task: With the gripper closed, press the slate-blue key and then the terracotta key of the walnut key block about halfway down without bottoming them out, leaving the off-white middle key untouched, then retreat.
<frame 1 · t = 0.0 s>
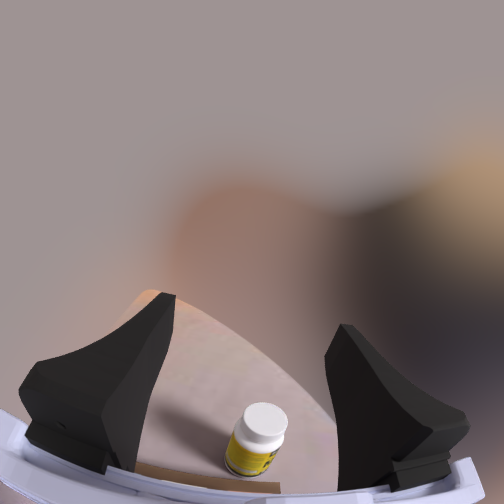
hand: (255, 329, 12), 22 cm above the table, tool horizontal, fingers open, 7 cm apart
supplement bottle: (245, 462, 26), on the table
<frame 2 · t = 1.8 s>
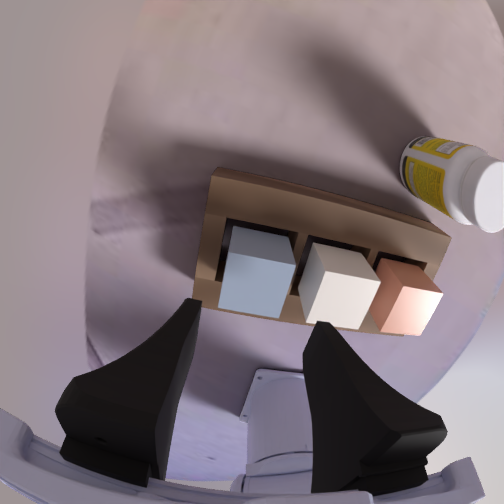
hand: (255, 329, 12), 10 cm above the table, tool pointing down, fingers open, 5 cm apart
supplement bottle: (423, 166, 19), on the table
blue key: (255, 270, 17), point 5 cm above the table, slide at 0.0 cm
white key: (336, 285, 18), point 5 cm above the table, slide at 0.0 cm
key block: (321, 252, 22), on the table
red key: (401, 296, 18), point 5 cm above the table, slide at 0.0 cm
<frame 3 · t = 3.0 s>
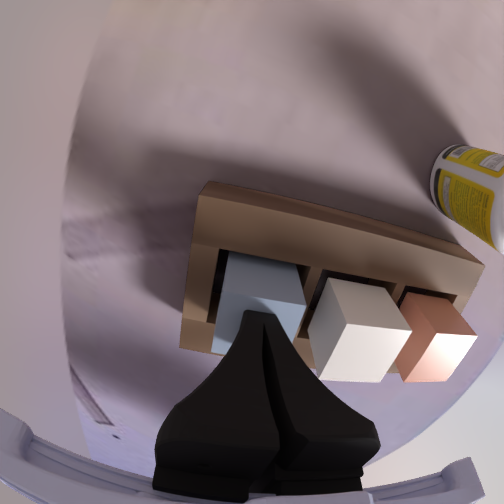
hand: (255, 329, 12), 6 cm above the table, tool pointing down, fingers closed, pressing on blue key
supplement bottle: (454, 179, 15), on the table
blue key: (255, 306, 14), point 4 cm above the table, slide at 0.8 cm, touching gripper
white key: (355, 331, 14), point 5 cm above the table, slide at 0.0 cm
key block: (334, 283, 18), on the table
red key: (428, 338, 14), point 5 cm above the table, slide at 0.0 cm
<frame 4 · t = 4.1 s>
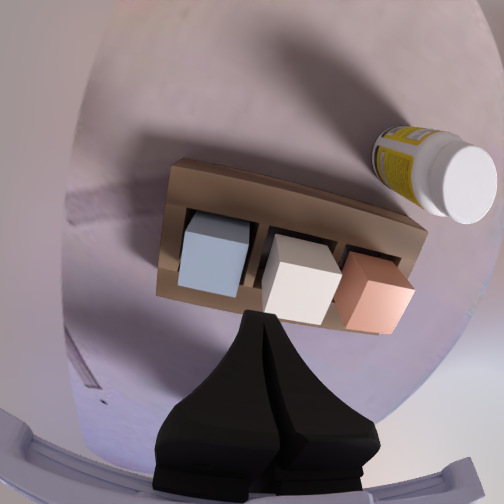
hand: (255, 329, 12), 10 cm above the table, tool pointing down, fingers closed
supplement bottle: (398, 157, 19), on the table
blue key: (215, 251, 18), point 3 cm above the table, slide at 1.2 cm
white key: (297, 278, 17), point 5 cm above the table, slide at 0.0 cm
key block: (289, 245, 22), on the table
red key: (371, 292, 18), point 5 cm above the table, slide at 0.0 cm
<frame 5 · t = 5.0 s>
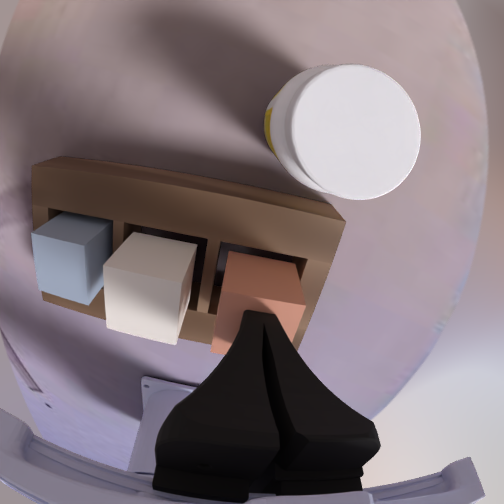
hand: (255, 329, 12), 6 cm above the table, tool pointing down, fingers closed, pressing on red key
supplement bottle: (306, 125, 15), on the table
blue key: (75, 253, 14), point 3 cm above the table, slide at 1.2 cm
white key: (151, 285, 14), point 5 cm above the table, slide at 0.0 cm
key block: (174, 245, 18), on the table
red key: (255, 306, 14), point 5 cm above the table, slide at 0.0 cm, touching gripper
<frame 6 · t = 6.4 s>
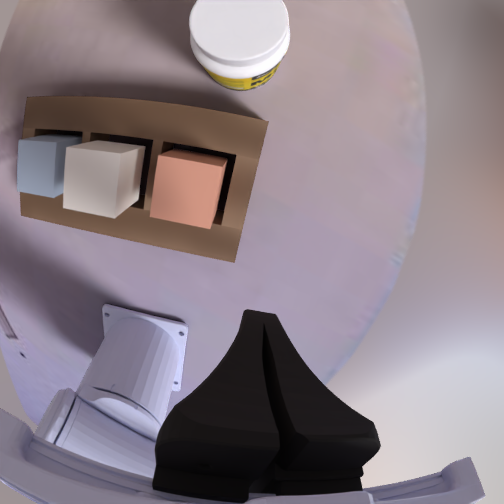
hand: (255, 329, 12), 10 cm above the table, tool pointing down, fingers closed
supplement bottle: (242, 59, 17), on the table
blue key: (50, 162, 16), point 3 cm above the table, slide at 1.2 cm
white key: (104, 175, 15), point 5 cm above the table, slide at 0.0 cm
key block: (133, 162, 19), on the table
red key: (190, 185, 17), point 3 cm above the table, slide at 1.2 cm
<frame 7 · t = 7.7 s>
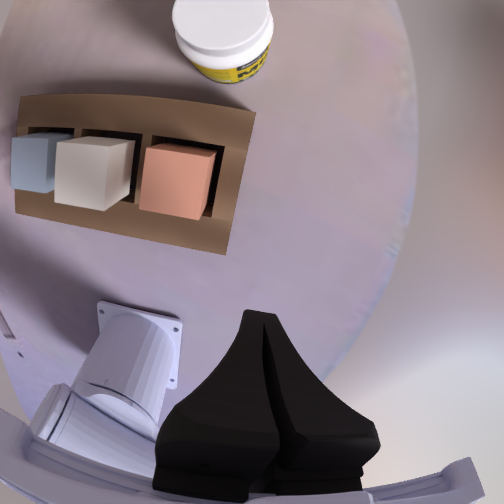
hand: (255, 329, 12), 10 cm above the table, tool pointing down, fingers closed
supplement bottle: (231, 53, 17), on the table
blue key: (43, 159, 16), point 3 cm above the table, slide at 1.2 cm
white key: (94, 169, 15), point 5 cm above the table, slide at 0.0 cm
key block: (124, 158, 19), on the table
red key: (180, 177, 17), point 3 cm above the table, slide at 1.2 cm
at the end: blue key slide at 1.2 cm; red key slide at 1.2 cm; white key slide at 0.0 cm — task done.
